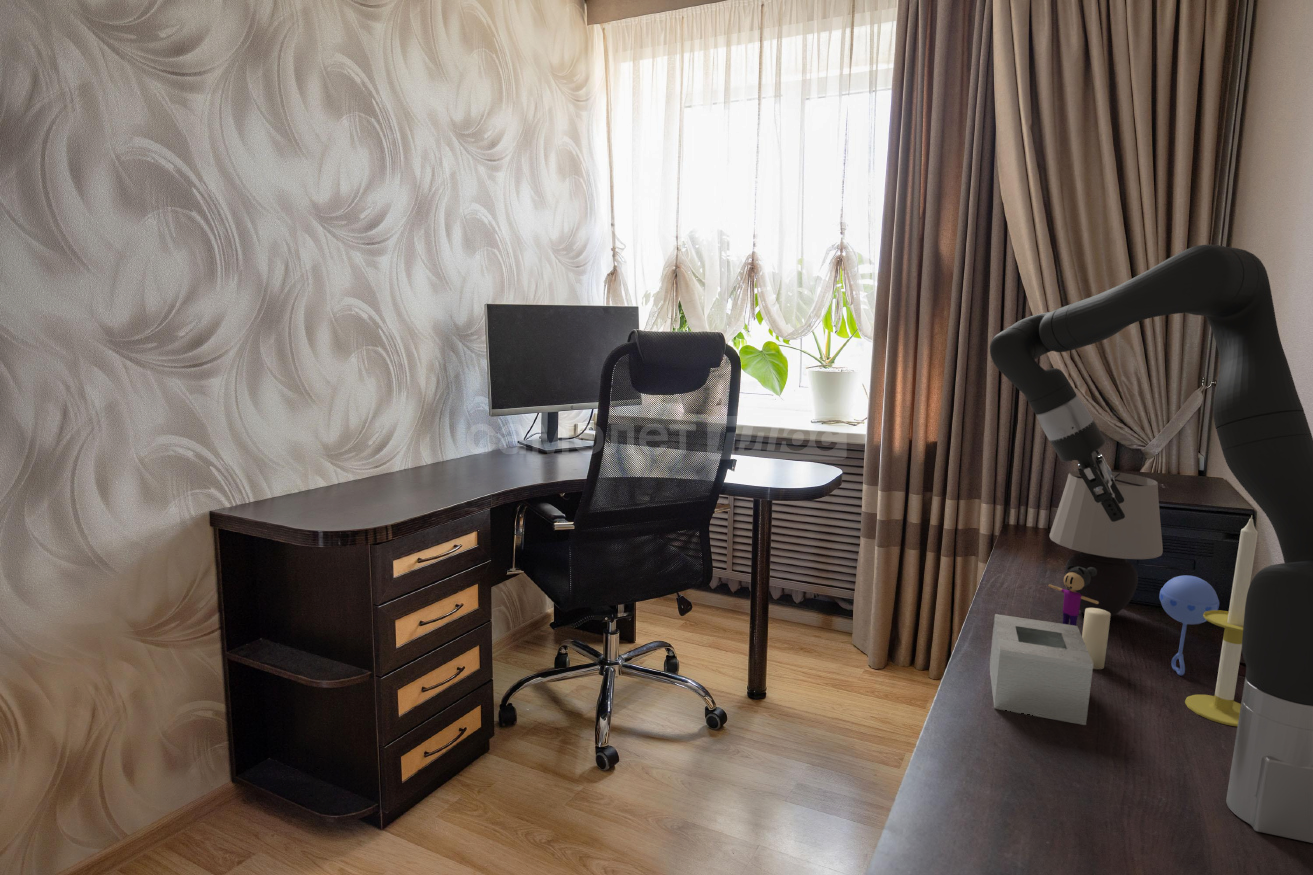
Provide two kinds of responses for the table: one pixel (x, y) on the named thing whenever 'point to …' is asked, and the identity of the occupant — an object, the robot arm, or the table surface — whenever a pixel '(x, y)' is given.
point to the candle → (1229, 638)
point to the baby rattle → (1187, 606)
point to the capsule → (1096, 635)
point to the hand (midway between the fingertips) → (1118, 511)
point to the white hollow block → (1040, 669)
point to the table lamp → (1109, 537)
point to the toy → (1072, 599)
